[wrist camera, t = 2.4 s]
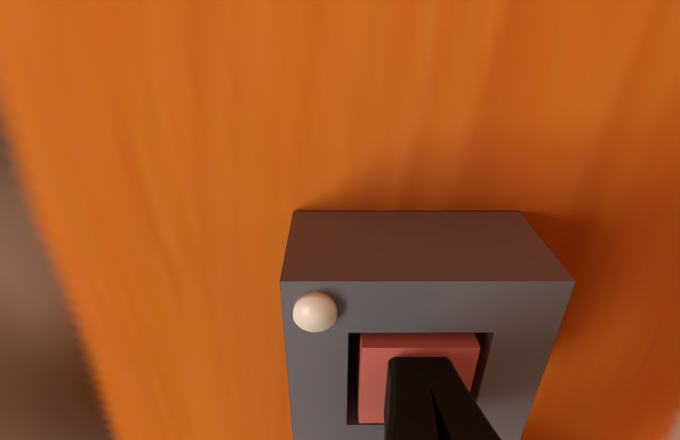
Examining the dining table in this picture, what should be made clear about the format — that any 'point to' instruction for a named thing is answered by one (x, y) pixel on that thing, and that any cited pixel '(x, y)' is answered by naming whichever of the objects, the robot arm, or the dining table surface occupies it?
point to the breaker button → (384, 346)
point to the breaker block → (416, 306)
